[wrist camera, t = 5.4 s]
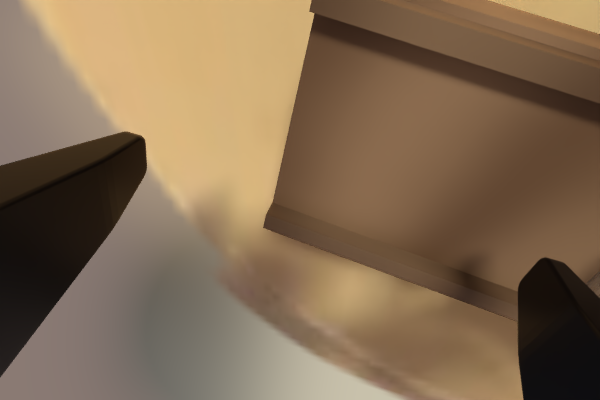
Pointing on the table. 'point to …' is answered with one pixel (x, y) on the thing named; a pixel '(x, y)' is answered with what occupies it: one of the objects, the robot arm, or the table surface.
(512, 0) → the table surface
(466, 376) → the table surface
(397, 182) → the beam
